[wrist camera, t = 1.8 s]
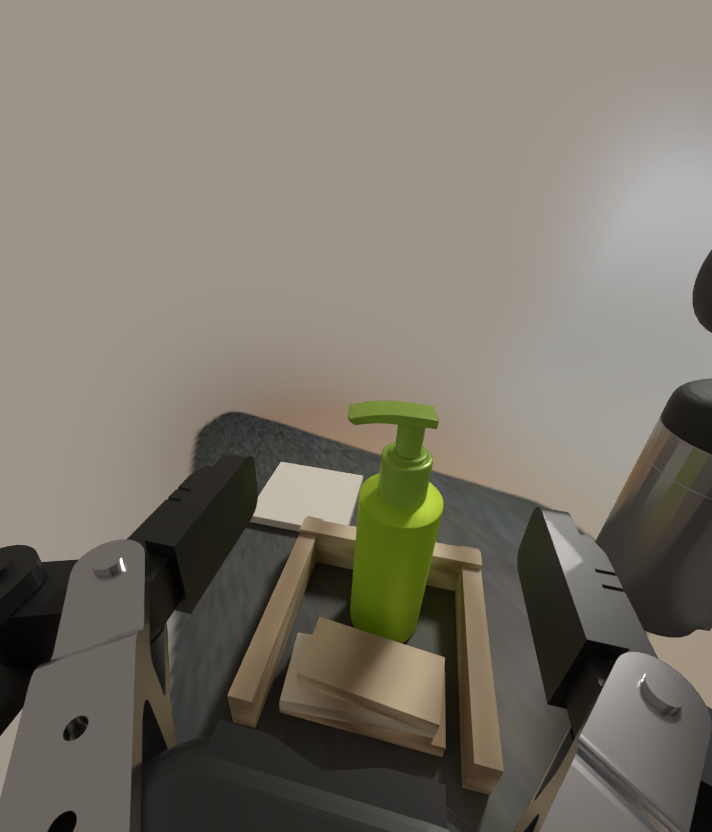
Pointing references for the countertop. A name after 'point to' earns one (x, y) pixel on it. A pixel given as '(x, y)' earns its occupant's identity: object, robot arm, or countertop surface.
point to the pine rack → (446, 572)
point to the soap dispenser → (395, 524)
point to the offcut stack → (367, 687)
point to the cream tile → (307, 496)
